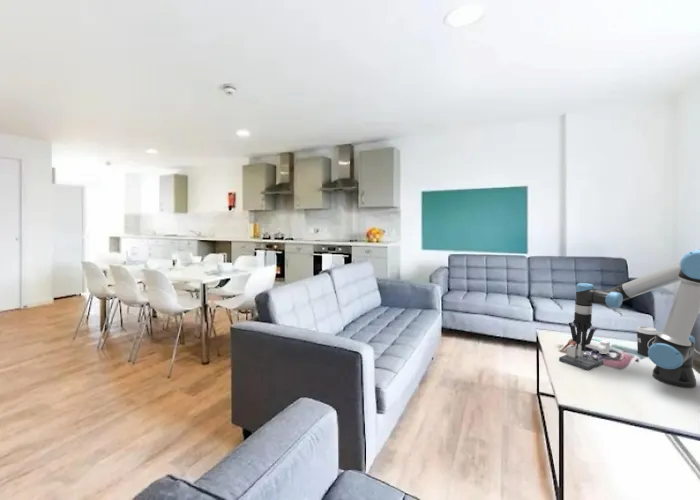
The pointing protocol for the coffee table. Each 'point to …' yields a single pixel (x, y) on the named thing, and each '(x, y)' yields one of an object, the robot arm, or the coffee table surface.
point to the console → (582, 361)
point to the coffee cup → (645, 339)
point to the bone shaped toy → (599, 346)
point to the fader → (572, 351)
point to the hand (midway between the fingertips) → (580, 355)
